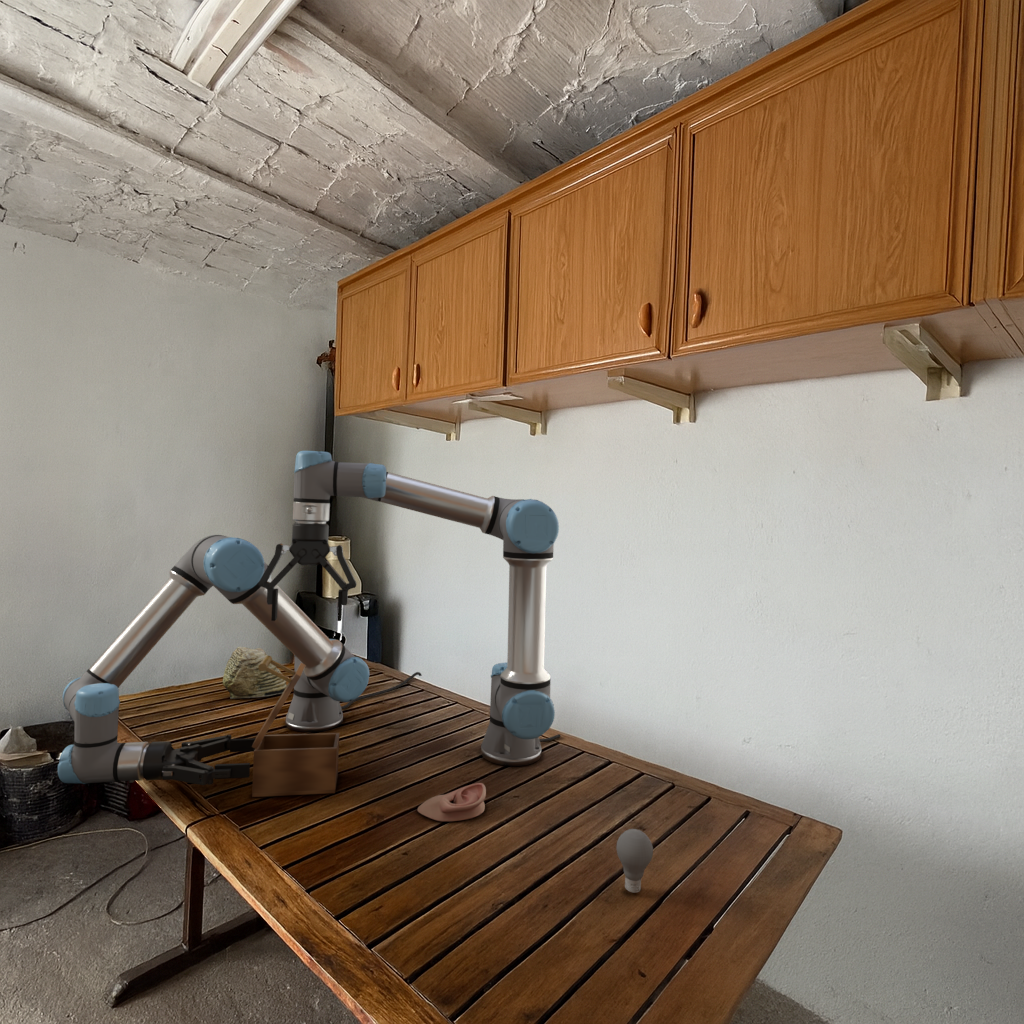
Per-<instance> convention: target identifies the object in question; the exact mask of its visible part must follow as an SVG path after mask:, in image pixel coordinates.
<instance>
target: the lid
mask: <svg viewBox="0 0 1024 1024" xmlns="http://www.w3.org/2000/svg"><path fill="white" fill-rule="evenodd" d="M270 663H271V664H273V665H275V666H276V668H278V669H279V670H281V671H285V672H286V673H288V674H290V675H292V676H291V678H290V677H288V676H287V675H284V674H283V673H282V672H281V673H282V674H281V673H279V672H277V671H275V670H273V669H271V668H269V667H268V666H269V664H270ZM258 668H259V670H260V671H265V670H266V671H267V672H269V673H271V674H273V675H275V676H277V677H279V678H281V679H283V680H285V681H286V683H287V684H286V685H287V687H286V688H285V690H284V692H283V693H281V694H280V696H279V697H278V699H277V701H276V703H275V705H274V707H273V708H272V710H271V711H270V713H269V714H268V716H267V718H266V720H265V722H264V723H263V724H262V726H261V728H260V729H259V731H258V733H257V735H256V737H255V738H256V739H255V741H254V743H253V745H252V747H253V748H255V749H257V748H258V746H259V744H260V743H261V741H262V739H263V738H264V736H265V735H267V733H268V731H269V729H270V728H271V726H272V724H273V723H274V721H275V720H276V719H277V716H278V715H279V713H280V711H281V709H282V708H283V706H284V705H285V703H286V701H287V700H288V699H289V697H290V695H291V693H292V692H293V691H294V687H295V685H296V683H297V682H298V680H299V678H300V677H301V674H302V672H303V670H304V668H305V665H304V664H302V663H301V664H300V665H299V667H298V668H297V670H296V672H295V671H294V670H293V669H291V668H289V667H287V666H285V665H283V664H282V663H280V662H278V661H276V660H273V657H272V656H271V655H268V656H266V657H265V658H264V659H263V661H262V662H261V663H260V665H259V667H258Z"/></svg>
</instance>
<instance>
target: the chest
mask: <svg viewBox="0 0 1024 1024" xmlns="http://www.w3.org/2000/svg"><path fill="white" fill-rule="evenodd" d="M339 752H340V732H319V733H318V732H317V733H316V732H315V733H288V734H287V733H286V734H285V733H283V734H265V736H264V738H263V739H262V741H261V743H260V744H259V746H258V748H257V749H255V750H254V751H253V760H252V761H253V762H252V763H253V765H252V786H251V787H252V788H251V789H252V790H251V797H252V798H262V797H282V796H304V795H324V794H325V795H326V794H335V793H336V788H337V783H338V776H339V775H338V774H339V754H340V753H339Z"/></svg>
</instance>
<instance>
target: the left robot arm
mask: <svg viewBox="0 0 1024 1024" xmlns="http://www.w3.org/2000/svg"><path fill="white" fill-rule="evenodd" d="M268 565H269V564H267V563H266V562H265V559H264V556H263V554H262V552H261V550H260V549H259V548H258V547H257V546H255V544H253V543H252V542H250V541H249V540H246V539H244V538H240V537H232V536H227V535H222V534H212V535H211V534H210V535H207V536H204V537H203V538H201V539H199V540H198V541H196V542H195V543H194V544H193V545H191V546H190V548H189V549H188V550H187V551H186V552H185V553H184V554H183V555H182V557H180V559H179V560H178V561H177V562H176V563H175V565H174V566H173V567H172V568H171V569H170V570H169V571H168V572H169V578H168V579H167V580H166V581H165V582H164V584H162V586H161V587H160V588H159V589H158V590H157V591H156V592H155V593H154V595H153V596H152V597H151V598H150V599H149V600H148V601H147V602H146V604H144V606H143V607H142V608H141V609H140V611H139V612H138V613H137V614H136V615H135V616H134V617H133V618H132V619H131V621H130V622H129V623H128V624H127V625H126V626H125V627H124V629H122V630H121V632H120V633H119V634H118V635H117V636H116V637H115V638H114V639H113V641H112V642H111V643H110V644H109V645H108V646H107V648H106V649H105V650H103V652H102V653H101V654H100V655H99V657H98V658H97V659H96V660H95V661H94V662H93V663H92V664H91V665H90V667H89V668H88V669H87V670H86V671H85V672H84V673H83V674H82V675H81V676H79V677H76V678H74V679H72V680H71V681H69V683H67V685H66V686H65V687H64V689H63V692H62V702H63V707H64V708H65V710H66V711H67V712H68V713H69V716H70V717H71V718H72V720H73V722H74V740H73V741H74V742H73V743H72V744H69V745H67V746H65V748H64V749H63V750H62V752H61V754H60V755H59V761H58V764H57V776H58V778H59V780H60V781H61V782H62V783H63V784H82V785H88V784H98V783H99V784H101V783H113V782H115V783H116V782H118V783H119V782H128V783H129V784H132V783H134V782H135V781H143V780H146V781H178V782H181V783H182V782H183V783H188V784H193V785H199V786H206V785H208V786H211V785H213V784H214V780H224V779H225V780H226V779H227V780H228V779H249V778H250V772H251V771H250V768H251V762H242V763H241V762H240V763H238V762H237V763H218V764H217V763H216V764H215V765H214V766H211V765H209V764H207V763H204V762H202V759H205V758H208V757H211V756H215V755H219V754H221V753H225V752H227V751H229V753H247V752H253V753H254V750H255V748H253V747H252V745H253V743H254V741H255V739H256V737H253V738H232V734H225V735H221V736H215V737H210V738H205V739H199V740H193V741H184V742H181V746H180V747H179V748H173V744H172V743H171V741H167V740H166V741H165V740H164V741H152V742H148V741H134V742H133V741H132V742H131V741H129V742H118V737H119V734H118V733H119V711H120V704H121V699H120V689H119V688H120V687H121V685H122V684H123V683H124V682H125V681H126V680H127V678H128V677H129V676H130V675H131V674H132V673H133V672H134V671H135V669H136V668H137V667H138V666H139V665H140V663H142V661H143V660H144V659H145V658H146V656H147V655H148V654H149V653H150V652H151V651H152V649H154V647H155V646H156V645H157V644H158V643H159V642H160V640H161V639H162V638H163V637H164V636H165V634H167V632H168V631H169V630H170V629H171V628H172V626H173V625H174V624H175V623H176V622H177V621H178V619H180V617H181V616H182V615H183V614H184V613H185V611H186V610H188V608H189V607H190V606H191V605H192V603H194V601H195V600H196V599H197V598H198V597H202V596H205V595H206V594H207V592H208V591H209V590H210V589H211V588H212V587H213V588H215V589H216V590H217V591H218V592H219V593H220V595H223V597H224V598H225V599H226V600H227V601H228V602H230V603H231V604H232V605H243V606H244V608H246V610H247V611H248V612H249V613H250V614H252V615H253V616H254V618H255V619H257V620H258V621H259V622H260V623H261V624H262V626H264V627H265V628H266V629H267V630H268V631H269V632H270V633H271V634H272V635H273V636H274V637H275V638H276V639H277V640H278V641H279V642H280V643H281V644H282V645H283V646H284V647H286V648H287V650H288V651H289V652H291V653H292V654H293V656H294V670H293V671H295V672H296V670H297V668H298V667H299V665H300V664H301V663H302V664H304V665H305V668H304V670H303V672H302V674H301V677H300V678H299V680H298V682H297V683H296V685H295V687H294V688H293V695H292V696H293V697H292V699H291V702H290V704H289V708H288V711H287V713H286V715H285V726H286V728H287V729H289V730H291V731H294V732H295V731H296V732H301V733H316V732H317V733H318V732H325V731H329V730H332V729H335V728H337V727H339V726H340V725H342V723H343V722H344V714H343V710H345V709H347V708H349V707H350V706H351V705H352V704H354V703H356V702H359V701H362V700H365V699H369V698H373V697H376V696H380V695H383V694H386V693H389V692H392V691H395V690H397V689H399V688H401V687H403V686H404V685H407V683H408V682H410V680H412V679H413V678H415V677H416V676H419V677H422V676H423V675H422V673H421V672H419V671H416V672H414V673H413V674H411V675H410V676H409V677H406V679H405V680H403V681H402V682H401V683H399V684H397V685H395V686H392V687H389V688H386V689H383V690H380V691H376V692H372V693H369V694H365V695H362V694H363V693H364V692H365V690H366V688H367V687H368V684H369V682H370V668H369V666H368V664H367V662H366V661H364V660H363V659H362V658H361V657H358V656H356V655H354V654H353V653H352V652H351V651H350V649H348V648H347V647H346V646H345V645H344V643H342V642H341V641H340V640H339V639H336V638H329V636H327V635H326V633H324V632H323V631H322V629H320V627H318V625H316V624H315V623H314V622H313V620H312V619H311V618H310V617H309V616H308V615H307V614H306V613H305V612H304V611H303V610H302V609H301V608H300V607H299V606H298V605H297V604H296V603H295V601H293V600H292V598H290V596H289V595H287V594H286V592H285V591H283V589H282V588H281V587H280V586H279V585H278V584H277V585H276V586H275V587H274V589H278V608H277V619H276V620H275V621H271V618H272V605H268V604H267V589H266V588H264V587H260V586H259V585H258V583H259V581H260V579H261V578H262V576H263V574H264V572H265V571H266V569H267V567H268ZM272 580H273V579H272V575H271V576H270V577H269V579H268V582H271V581H272ZM341 703H346V704H344V705H341Z"/></svg>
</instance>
